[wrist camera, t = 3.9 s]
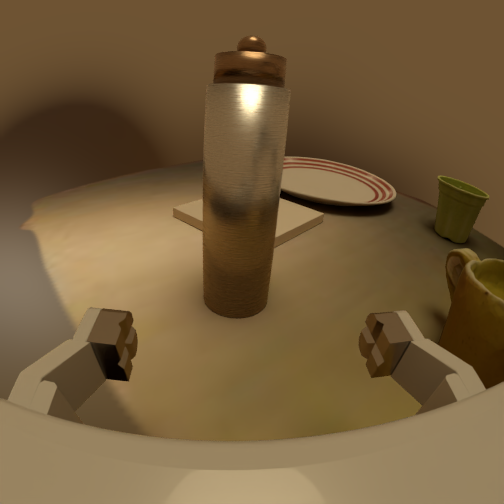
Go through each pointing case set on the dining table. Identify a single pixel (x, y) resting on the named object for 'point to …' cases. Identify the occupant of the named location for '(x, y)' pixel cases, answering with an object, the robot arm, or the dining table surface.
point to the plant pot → (457, 208)
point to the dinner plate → (333, 183)
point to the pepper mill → (242, 176)
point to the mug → (476, 314)
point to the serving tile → (288, 222)
